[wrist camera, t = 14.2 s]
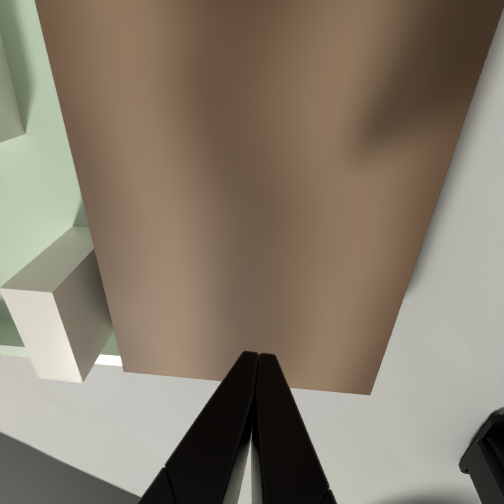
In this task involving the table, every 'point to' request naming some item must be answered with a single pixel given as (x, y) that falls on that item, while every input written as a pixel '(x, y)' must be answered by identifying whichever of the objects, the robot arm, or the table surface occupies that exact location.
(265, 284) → the board
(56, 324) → the tile
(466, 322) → the table surface
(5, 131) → the tile
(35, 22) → the tray
